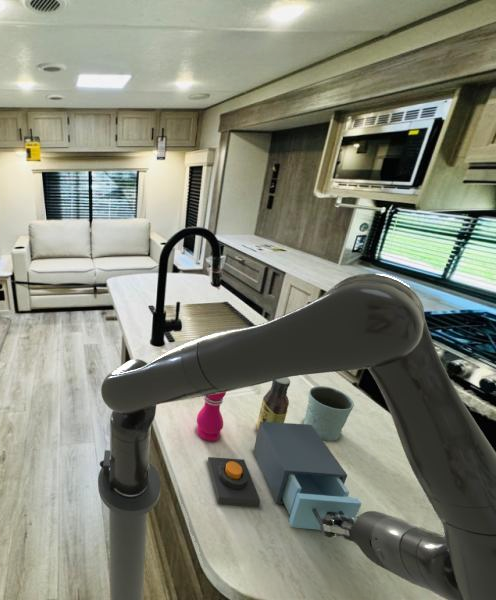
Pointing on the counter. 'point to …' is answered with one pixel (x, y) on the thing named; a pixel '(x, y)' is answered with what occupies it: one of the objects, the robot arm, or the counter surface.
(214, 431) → the pepper mill
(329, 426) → the embossed plant pot
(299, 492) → the light blue drawer
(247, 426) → the counter surface
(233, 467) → the button
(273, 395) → the sauce bottle
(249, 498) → the block
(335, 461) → the grey drawer cabinet
